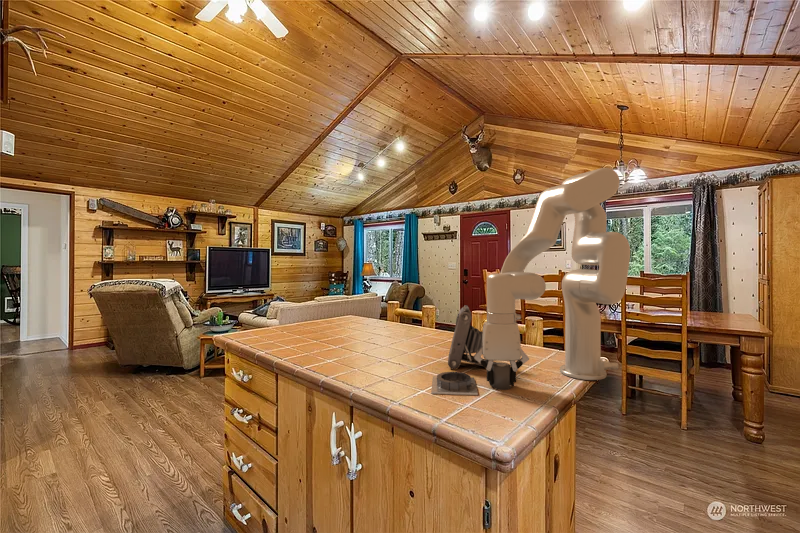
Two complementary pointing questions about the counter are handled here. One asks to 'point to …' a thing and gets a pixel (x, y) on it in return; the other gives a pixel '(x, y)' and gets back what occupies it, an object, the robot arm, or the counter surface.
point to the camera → (464, 340)
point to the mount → (453, 384)
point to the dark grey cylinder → (501, 376)
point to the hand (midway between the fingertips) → (501, 383)
